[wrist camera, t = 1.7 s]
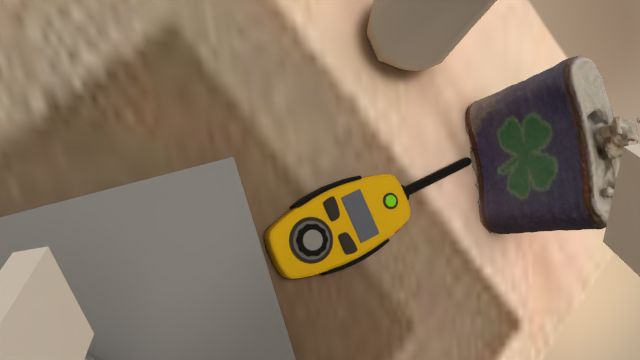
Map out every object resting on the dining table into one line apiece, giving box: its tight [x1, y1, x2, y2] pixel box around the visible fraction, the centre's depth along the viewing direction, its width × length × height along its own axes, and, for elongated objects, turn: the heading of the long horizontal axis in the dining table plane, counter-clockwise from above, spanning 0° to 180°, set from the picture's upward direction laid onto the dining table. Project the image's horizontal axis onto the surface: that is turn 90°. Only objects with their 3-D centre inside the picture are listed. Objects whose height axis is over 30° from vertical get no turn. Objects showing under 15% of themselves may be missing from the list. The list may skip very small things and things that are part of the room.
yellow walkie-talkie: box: [264, 157, 471, 279], centre depth 29 cm, size 5×2×15 cm
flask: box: [466, 56, 640, 234], centre depth 28 cm, size 9×3×11 cm, turn 7°
